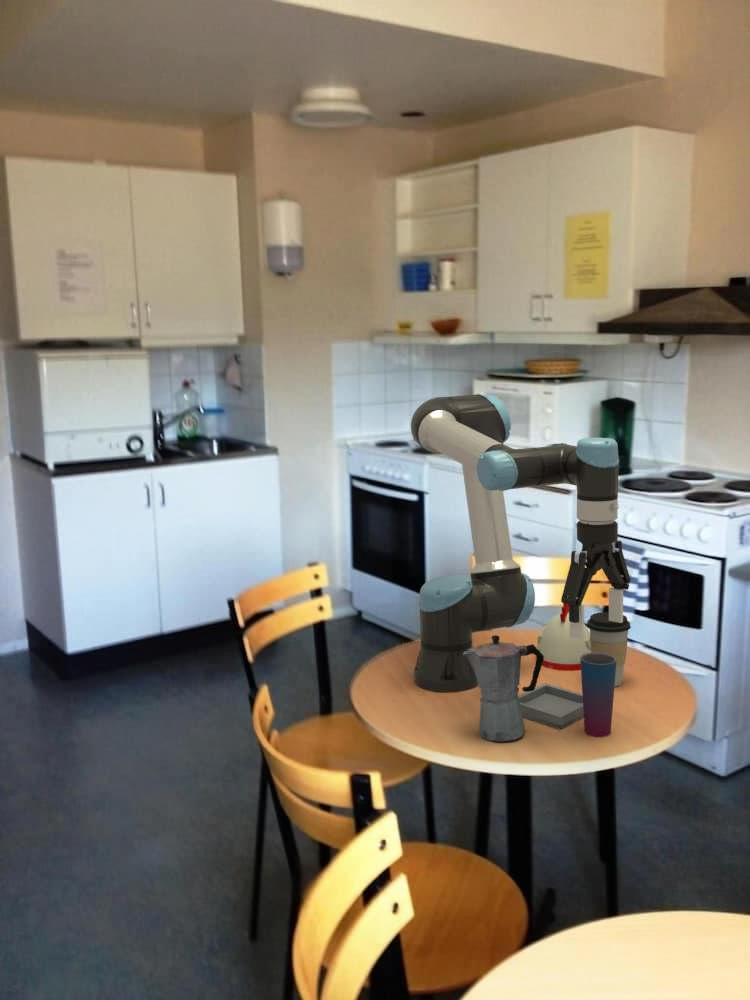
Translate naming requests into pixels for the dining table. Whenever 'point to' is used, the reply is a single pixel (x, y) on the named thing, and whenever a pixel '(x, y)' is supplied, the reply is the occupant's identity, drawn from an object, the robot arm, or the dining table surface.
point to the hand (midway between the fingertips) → (596, 629)
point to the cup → (598, 692)
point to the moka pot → (501, 687)
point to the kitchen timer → (562, 644)
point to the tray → (552, 705)
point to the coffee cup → (609, 639)
